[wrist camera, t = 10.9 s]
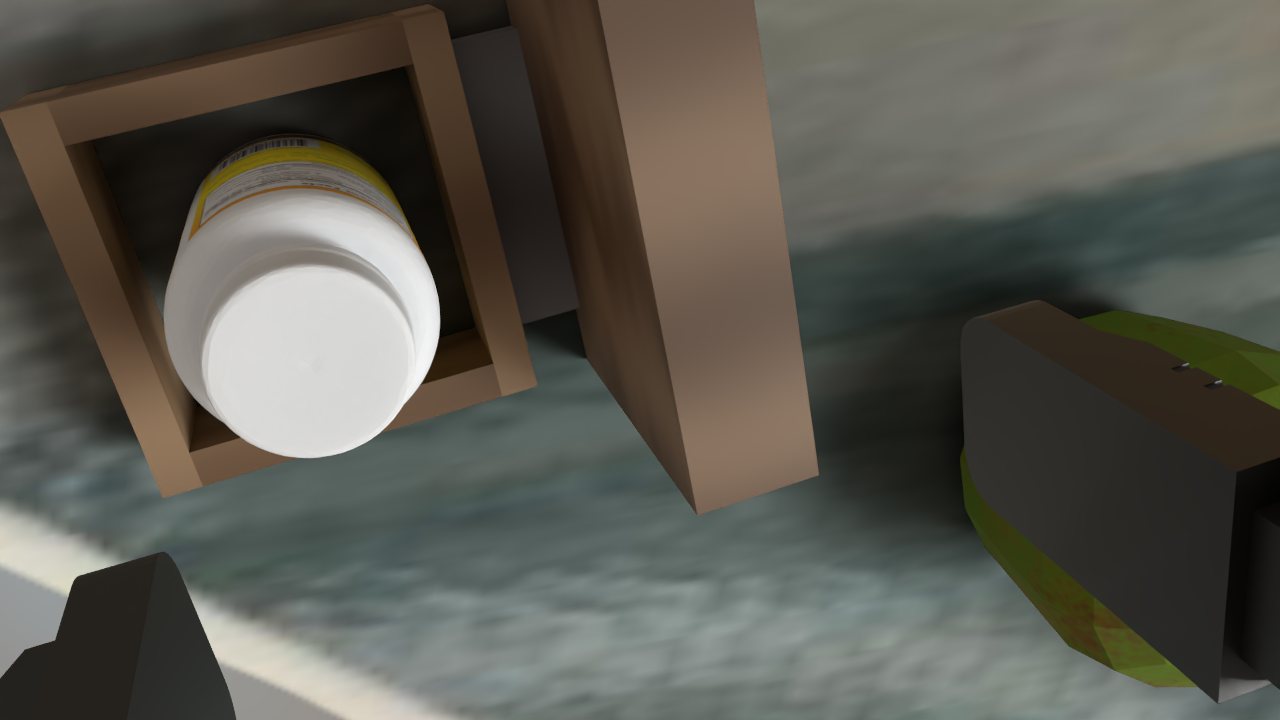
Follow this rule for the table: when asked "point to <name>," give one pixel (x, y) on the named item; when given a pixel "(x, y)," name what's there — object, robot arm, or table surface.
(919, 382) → the table surface
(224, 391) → the supplement bottle
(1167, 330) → the apple
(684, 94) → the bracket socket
